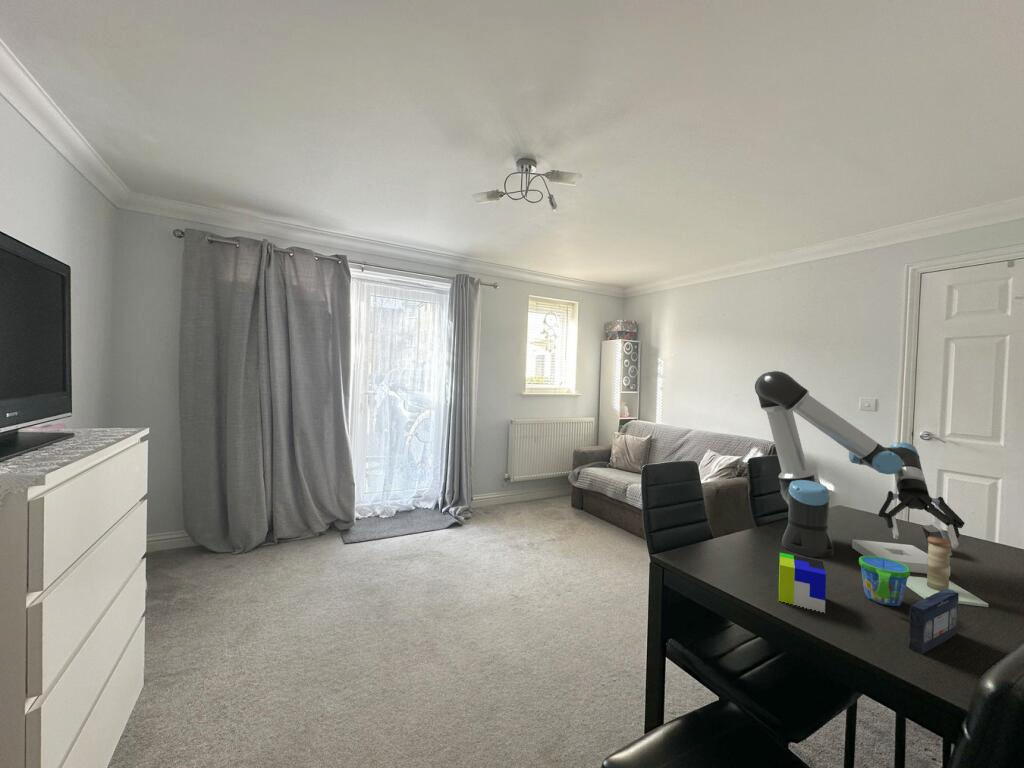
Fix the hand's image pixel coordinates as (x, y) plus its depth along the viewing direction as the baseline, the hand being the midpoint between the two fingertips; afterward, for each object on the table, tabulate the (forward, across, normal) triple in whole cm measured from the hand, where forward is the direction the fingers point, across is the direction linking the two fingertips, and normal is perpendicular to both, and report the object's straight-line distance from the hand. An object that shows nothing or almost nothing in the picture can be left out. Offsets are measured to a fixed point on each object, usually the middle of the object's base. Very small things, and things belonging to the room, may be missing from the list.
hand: (925, 541), depth 132 cm
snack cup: (+26, +15, +11) cm, 32 cm away
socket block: (0, +4, -15) cm, 16 cm away
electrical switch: (-14, -12, -30) cm, 35 cm away
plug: (+14, 0, +1) cm, 15 cm away
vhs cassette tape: (+39, +10, +24) cm, 47 cm away
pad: (+15, 0, 0) cm, 15 cm away
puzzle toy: (+35, +35, +19) cm, 53 cm away
